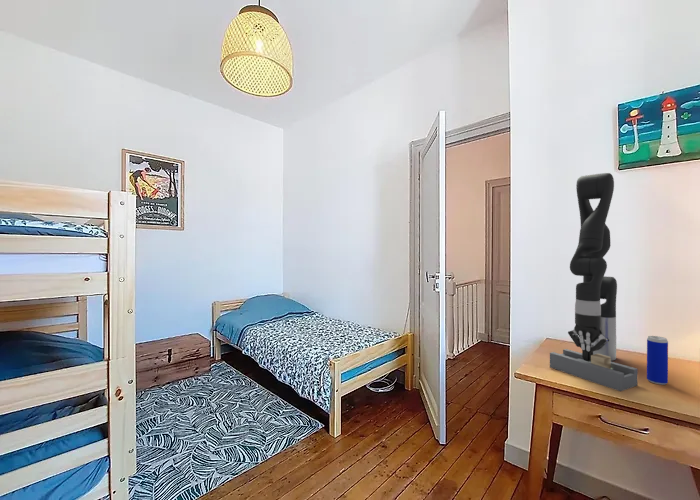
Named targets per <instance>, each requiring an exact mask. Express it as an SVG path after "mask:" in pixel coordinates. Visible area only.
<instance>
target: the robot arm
mask: <svg viewBox="0 0 700 500" xmlns="http://www.w3.org/2000/svg"><path fill="white" fill-rule="evenodd" d="M614 180H615V179H614V176H613V175H612V174H611V172H604V173H596V174H594V173H593V174H587V175H586V174H585V175H580V176H579V177H578V178H577V180H576V189H575V190H576V196H577V202H578V203H577V204H578V211H579V216H580V217H579V219H580V228H579V235H578V236H579V237H578V243H577V247H576V249H575V252H574V254H573V256H572V258H571V259H570V262H569V270H570V273H572V274H573V275H574V276H576V277H577V276H579V277H582V280H583V281H582V282H578V283H577V284H576V285H575V303H574V324H575V325H574V328H573V329H571V330H570V331H568V332H567V334H568V335H569V337H570V339H571V340H572V341H573V343H574V344H575V346H576V347H577V348H580V349H581V353H582V357H583V358H584V360H585V361H588V362H589V361H591V355H594V354H601V355H605V356H609V357H611V362H614V361H616V359H617V292H618V282H617V280H616V278H615V277H614V276H605V274H606V272H607V269H608V264H607V263H608V262H607V261H606V259H604V257H605V256H606V255H607V253H608V252H609V250H610V248H611V231H610V228H609V227H608V226H607V224H606V222H607V217H608V216H609V212H610V211H609V210H610V207H611V203H612V200H613V196H614V194H613V193H614V189H615V181H614ZM598 199H599V202H598V204H597V206H596V207H595V209H593V207H592V205H591V201H590V200H598ZM601 300H605V302H604V303H602V304H601Z"/></svg>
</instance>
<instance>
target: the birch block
mask: <svg viewBox="0 0 700 500" xmlns="http://www.w3.org/2000/svg"><path fill="white" fill-rule="evenodd" d="M611 362H612V361H611V357H609V356H605V355H601V354H594V355H591V363H592V364H595V365H599V366H602V367H605V368H609V369H611Z"/></svg>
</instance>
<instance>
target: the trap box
mask: <svg viewBox="0 0 700 500" xmlns="http://www.w3.org/2000/svg"><path fill="white" fill-rule="evenodd" d="M549 368H551V369H555V370H557V371H559V372H563V373H566V374H568V375H572V376H574V377H576V378H581V379H583V380H586V381H589V382H591V383H595V384H598V385H601V386H604V387H606V388H610V389H612V390H615V391H618V392H623V391H625V390H628V389H632V388H634V387H636V386H638V370H639V369H638V368H636V367H632V366H629V365H625V364H621V363H618V362H614V361H611V369H609V368H605V367H602V366H599V365H595V364H592V363H591V361H589V362H588V361H585V360H584V358H583V357H582V352H578V351H575V350H571V349H568V348H565V349H562V353H557V352H555V351H551V352H549Z"/></svg>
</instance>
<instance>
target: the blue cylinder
mask: <svg viewBox="0 0 700 500" xmlns="http://www.w3.org/2000/svg"><path fill="white" fill-rule="evenodd" d="M646 379H647V381H648V382H650V383H652V384H656V385H662V386H664V385H667V384H668V383H669V341H668V339H667V338H666V337H662V336H658V335H648V336H647V339H646Z"/></svg>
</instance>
